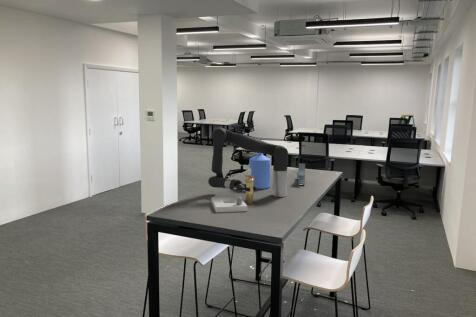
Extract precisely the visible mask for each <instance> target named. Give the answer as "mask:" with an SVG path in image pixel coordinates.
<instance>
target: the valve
mask: <svg viewBox="0 0 476 317" xmlns="http://www.w3.org/2000/svg"><path fill="white" fill-rule="evenodd" d="M244 177H245V180H244V181H245V184H246V187H248V188H250V192H248V191H245V204H246V205H249V204H250V205H251V204H253V203H254V190H253V181H254V179H253V178H254V176H251V175H248V174H245V175H244Z"/></svg>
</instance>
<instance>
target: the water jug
mask: <svg viewBox="0 0 476 317" xmlns="http://www.w3.org/2000/svg"><path fill="white" fill-rule="evenodd" d="M248 163H249V164H248V165H249V169H250V171H251V172H250V174H251V175H250V176H254V178H253V179H254V181H253V186H255V187H256V190H266V188H267V189H269V188H270V187H271V164H272V160H271V158H270V157H267V156H266V155H264V154H263V153H258V152H257V155H255V156H253V157H250V158H249V162H248Z"/></svg>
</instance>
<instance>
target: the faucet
mask: <svg viewBox="0 0 476 317" xmlns="http://www.w3.org/2000/svg"><path fill="white" fill-rule="evenodd" d="M305 177H306V163H298V170H297V173H296V179H297V178H299V179H298V182H297V183H298V184H303V185H304V186H305V184H306V180H305Z"/></svg>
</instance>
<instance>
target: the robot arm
mask: <svg viewBox="0 0 476 317" xmlns="http://www.w3.org/2000/svg"><path fill="white" fill-rule="evenodd" d="M211 138H212V145H213V148H212V150H213V151H212V158H211V159H212V160H211V161H212V162H211V172H212V173H213V174H215V175H213V176H210V177H209V178H208V179H207V180H208V182H207V183H208V186H210V187H212V188H215V189H216V188H217V189H218V188H220V189H224V190H225V189H226V190H229V191H232V192H236V193H237V192H246V191H248V192H250V188H248V187H246V182H245V183H244V182H242V181H241V180H240V179H235V178H228V177H224V172H223V164H224V163H223V162H224V160H223V159H224V158H223V157H224V155H223V154H224V152H223V150H224V144H225V142H226V143H230V144H233V145H235V146H236V147H239V148H241V149H242V150H245V151H249V152H253V153H257V154H258V153H262V154H265V155H269V156H271V157H273V166H272V167H273V168H272V197H275V198H277V197H278V198H285V197H287V192H288V191H287V190H288V189H287V188H288V166H289V151H288V149H287V148H286V147H285V146H284V145H280V144H279V145H278V144H274V143H269V142H266V141H264V140H261V139H260V138H256V137H253V136H250V135H246V134H242V133H238V132H237V133H236V132H233V131H231V130H229V129H226V128H224V127H220V126H219V127H215V128H214V129H213V131H212V134H211ZM256 190H257V189H256V187H255V186H253V191H256Z"/></svg>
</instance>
